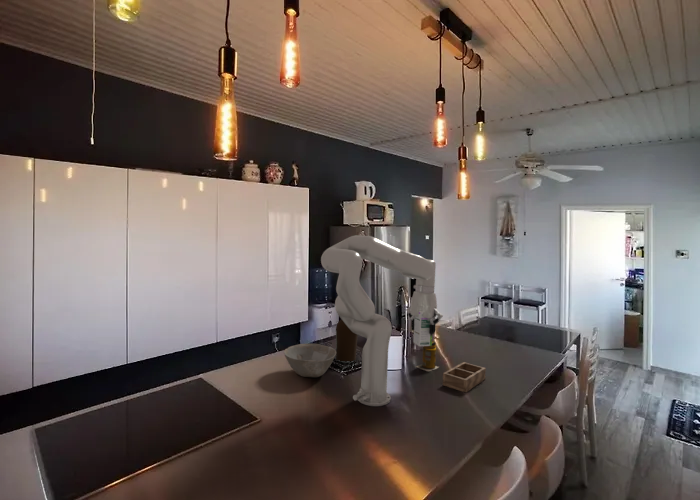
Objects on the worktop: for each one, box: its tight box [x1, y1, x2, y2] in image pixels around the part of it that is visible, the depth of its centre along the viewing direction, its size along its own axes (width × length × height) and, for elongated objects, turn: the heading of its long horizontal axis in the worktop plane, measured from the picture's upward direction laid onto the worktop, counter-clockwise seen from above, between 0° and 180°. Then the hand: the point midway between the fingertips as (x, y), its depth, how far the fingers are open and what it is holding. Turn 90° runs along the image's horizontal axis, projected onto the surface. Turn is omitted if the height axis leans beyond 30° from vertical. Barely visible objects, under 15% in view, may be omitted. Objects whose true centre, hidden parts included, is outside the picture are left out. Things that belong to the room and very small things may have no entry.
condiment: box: [415, 340, 440, 372], centre depth 175 cm, size 7×8×12 cm
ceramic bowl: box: [283, 343, 336, 378], centre depth 162 cm, size 22×23×10 cm
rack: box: [442, 361, 487, 393], centre depth 159 cm, size 19×10×5 cm, turn 138°
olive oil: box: [335, 318, 359, 361], centre depth 180 cm, size 11×11×25 cm
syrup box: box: [413, 311, 433, 347], centre depth 157 cm, size 6×6×14 cm
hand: (422, 331), depth 157 cm, fingers closed on syrup box, 7 cm apart
